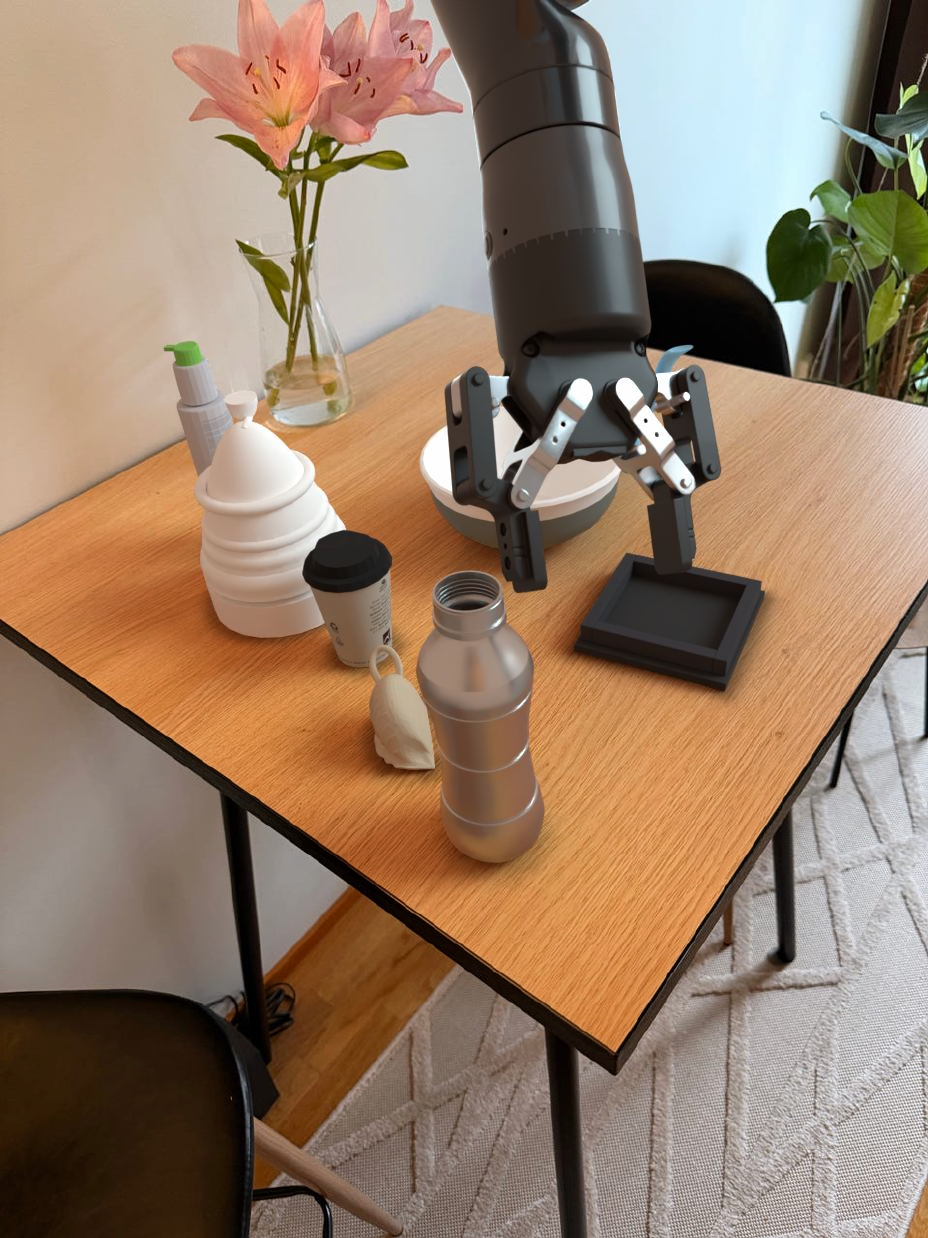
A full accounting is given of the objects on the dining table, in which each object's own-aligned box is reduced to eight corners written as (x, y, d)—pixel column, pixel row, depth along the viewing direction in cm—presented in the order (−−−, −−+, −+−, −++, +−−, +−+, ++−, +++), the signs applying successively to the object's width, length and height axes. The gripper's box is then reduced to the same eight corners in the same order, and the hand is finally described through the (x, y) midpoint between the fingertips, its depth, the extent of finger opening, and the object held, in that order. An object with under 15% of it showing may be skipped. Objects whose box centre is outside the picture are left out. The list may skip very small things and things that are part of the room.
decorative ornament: (377, 779, 64) (365, 726, 60) (373, 697, 70) (362, 645, 67) (434, 771, 64) (426, 718, 60) (425, 690, 70) (417, 638, 67)
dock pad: (764, 598, 75) (767, 576, 74) (725, 691, 67) (728, 668, 66) (625, 568, 80) (626, 546, 79) (573, 651, 72) (573, 629, 71)
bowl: (656, 561, 80) (660, 480, 75) (450, 603, 78) (440, 523, 73) (588, 462, 95) (588, 389, 90) (413, 495, 93) (403, 422, 87)
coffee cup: (421, 655, 73) (405, 554, 67) (343, 689, 71) (319, 588, 65) (384, 611, 78) (366, 513, 72) (310, 642, 76) (284, 543, 70)
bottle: (241, 525, 91) (185, 332, 79) (274, 536, 89) (221, 339, 77) (210, 548, 88) (147, 351, 76) (243, 559, 86) (184, 359, 74)
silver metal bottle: (515, 893, 55) (493, 647, 43) (424, 850, 59) (377, 608, 46) (563, 818, 60) (555, 573, 47) (475, 781, 63) (446, 542, 50)
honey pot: (224, 558, 87) (169, 382, 75) (358, 543, 87) (323, 364, 75) (204, 645, 77) (138, 457, 65) (355, 628, 77) (315, 437, 65)
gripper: (465, 211, 38) (516, 594, 38) (727, 229, 44) (769, 560, 44) (401, 279, 45) (444, 604, 45) (635, 287, 51) (673, 573, 51)
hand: (605, 581), depth 45 cm, fingers open, 8 cm apart
